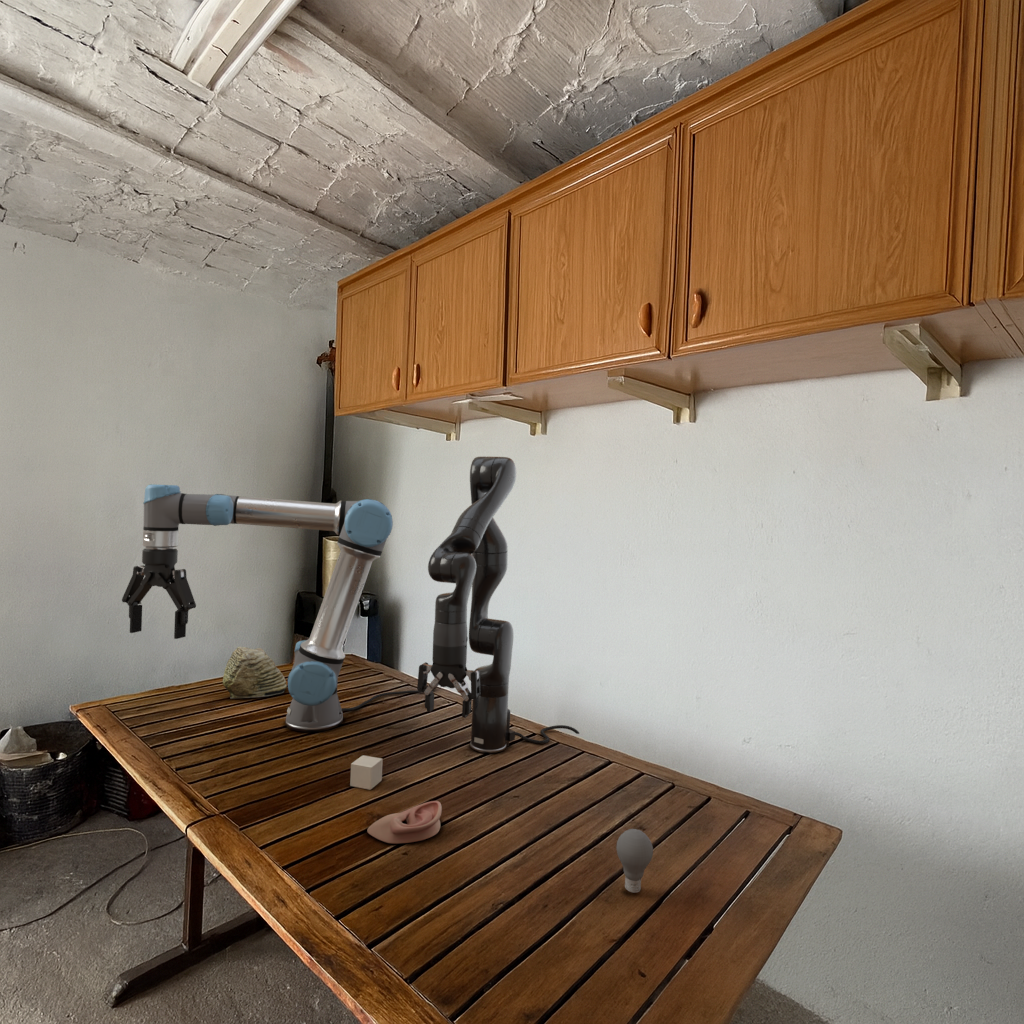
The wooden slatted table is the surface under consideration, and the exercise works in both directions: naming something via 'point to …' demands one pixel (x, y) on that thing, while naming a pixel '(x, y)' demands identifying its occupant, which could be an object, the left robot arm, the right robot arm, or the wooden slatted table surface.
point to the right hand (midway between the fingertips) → (447, 713)
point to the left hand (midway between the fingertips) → (157, 634)
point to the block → (366, 772)
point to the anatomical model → (408, 824)
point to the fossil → (252, 674)
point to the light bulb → (634, 857)
